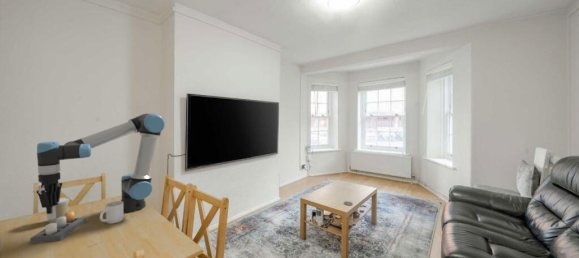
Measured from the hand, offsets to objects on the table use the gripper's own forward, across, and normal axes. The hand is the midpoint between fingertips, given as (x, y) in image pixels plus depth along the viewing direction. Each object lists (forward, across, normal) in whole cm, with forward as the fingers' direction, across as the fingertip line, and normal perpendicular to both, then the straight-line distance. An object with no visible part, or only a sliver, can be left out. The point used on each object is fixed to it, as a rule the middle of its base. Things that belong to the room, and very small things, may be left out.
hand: (51, 218), depth 113 cm
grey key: (+8, -6, 0) cm, 10 cm away
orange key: (+8, -13, 0) cm, 15 cm away
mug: (+10, -13, +20) cm, 26 cm away
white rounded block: (+8, 0, 0) cm, 8 cm away
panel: (+10, -6, 0) cm, 12 cm away
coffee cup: (+10, -20, -10) cm, 25 cm away
